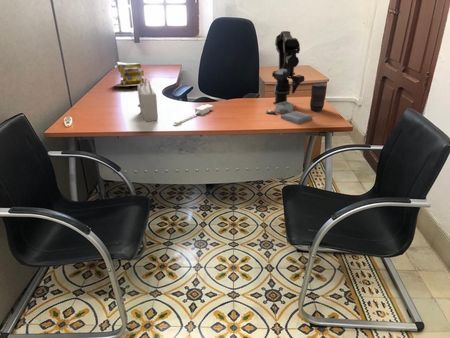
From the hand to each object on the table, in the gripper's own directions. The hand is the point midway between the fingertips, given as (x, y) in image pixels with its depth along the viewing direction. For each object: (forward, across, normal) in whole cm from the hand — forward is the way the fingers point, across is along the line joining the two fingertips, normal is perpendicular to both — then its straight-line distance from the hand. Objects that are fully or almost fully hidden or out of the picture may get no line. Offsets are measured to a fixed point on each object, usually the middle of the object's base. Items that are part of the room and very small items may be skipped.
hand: (286, 91), depth 195 cm
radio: (+12, -44, -64) cm, 79 cm away
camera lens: (+12, +9, +17) cm, 23 cm away
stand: (+12, +12, -4) cm, 17 cm away
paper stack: (+13, -108, -41) cm, 116 cm away
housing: (+12, 0, 0) cm, 12 cm away
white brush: (+12, -28, -45) cm, 54 cm away
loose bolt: (+12, -4, -8) cm, 15 cm away
